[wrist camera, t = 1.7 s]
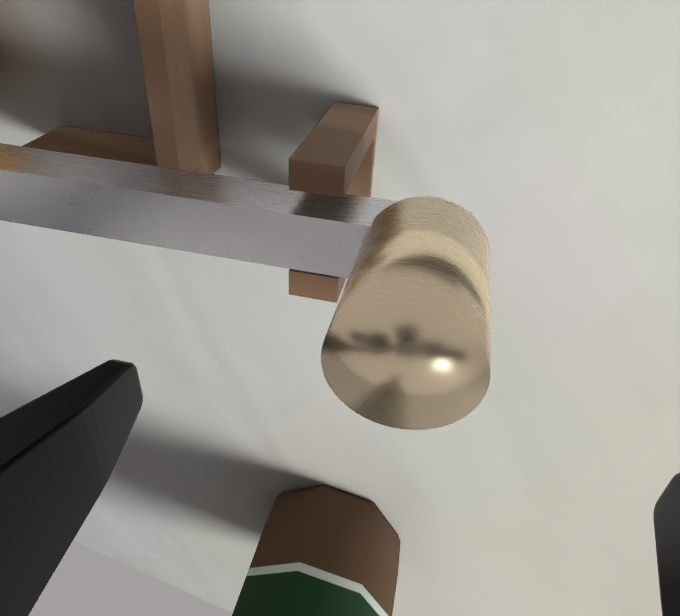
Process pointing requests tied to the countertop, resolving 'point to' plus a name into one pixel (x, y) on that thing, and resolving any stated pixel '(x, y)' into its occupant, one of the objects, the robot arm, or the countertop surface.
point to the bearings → (333, 176)
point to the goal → (163, 95)
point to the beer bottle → (322, 558)
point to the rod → (303, 266)
